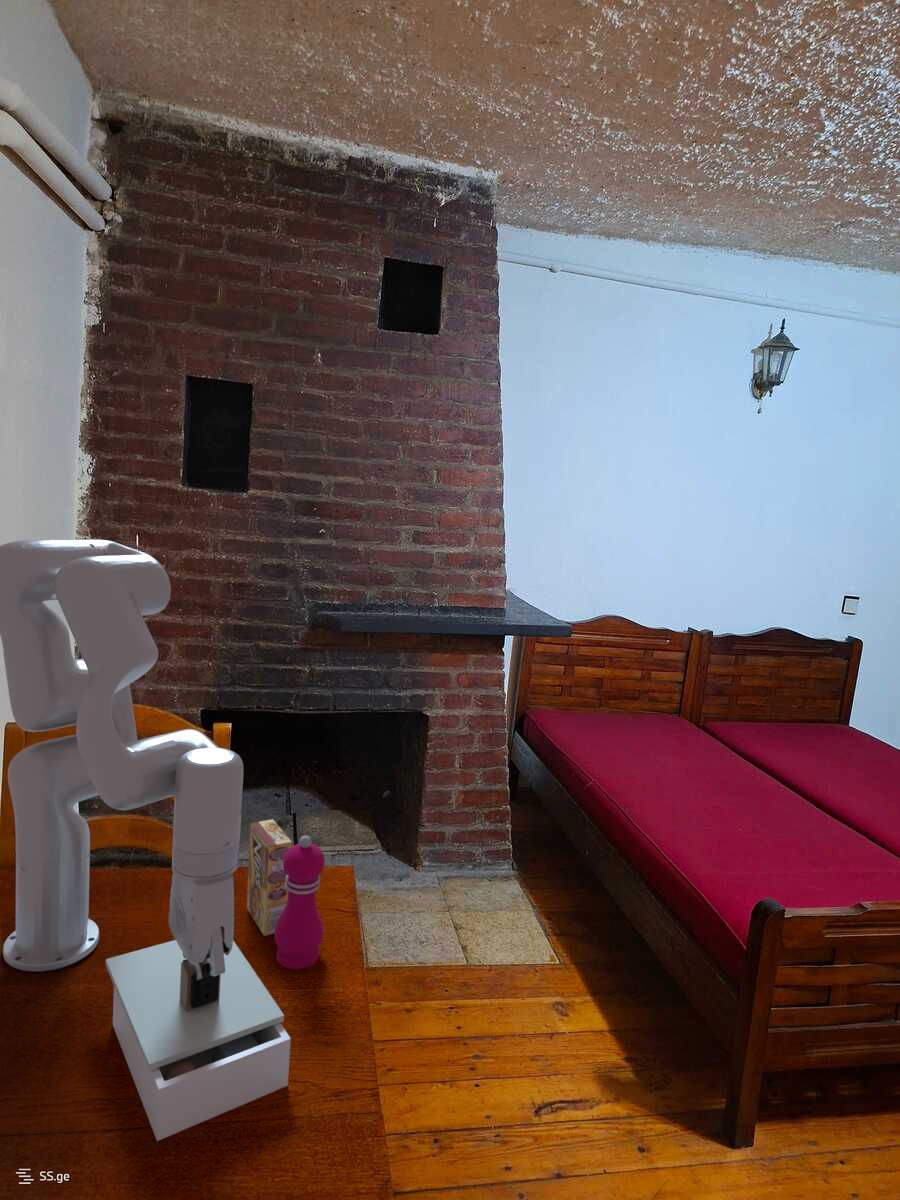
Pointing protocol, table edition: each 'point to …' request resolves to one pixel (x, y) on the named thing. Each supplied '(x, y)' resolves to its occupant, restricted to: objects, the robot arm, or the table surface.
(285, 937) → the pepper mill
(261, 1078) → the storage box
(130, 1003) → the lid
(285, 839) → the candy box
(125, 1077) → the table surface
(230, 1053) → the slate block
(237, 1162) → the table surface
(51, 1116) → the table surface
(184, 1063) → the coral ball
